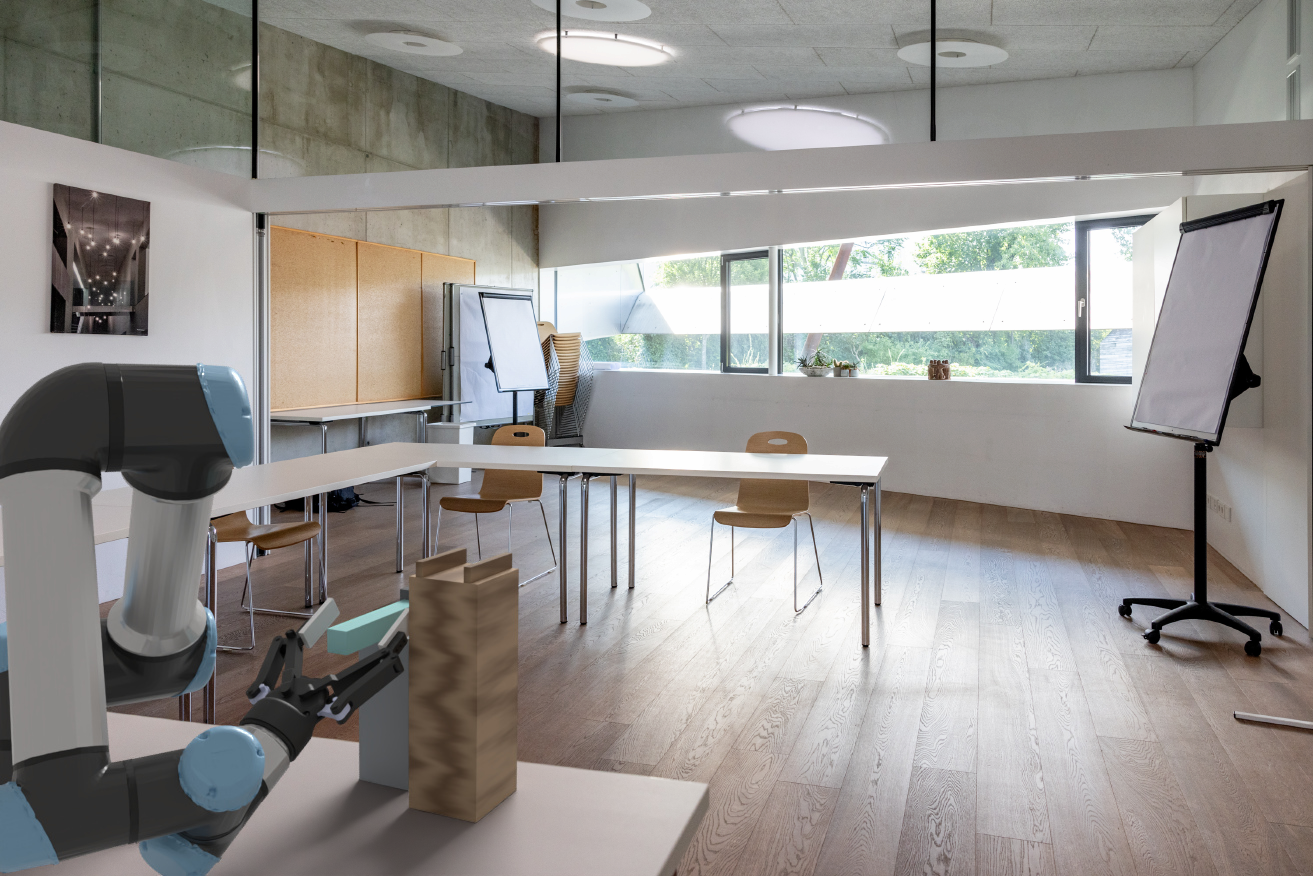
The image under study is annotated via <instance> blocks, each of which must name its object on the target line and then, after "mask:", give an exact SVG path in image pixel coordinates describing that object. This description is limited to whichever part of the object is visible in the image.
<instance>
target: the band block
mask: <svg viewBox="0 0 1313 876" xmlns="http://www.w3.org/2000/svg"><path fill="white" fill-rule="evenodd" d="M407 639H408V642H407V644H406V645H405V646H404V648H403V650H402V651H401V652H400V654H399V655H398V656H399V658H400V660H401V663H402V665H403V667H404V671H403V673H401V674H400V675H399V676H398V677H396V678H395V679H394V680H393V681H391V682H390V683H389V684H388V685H386V686H385V687H384V688H383V689H381V690H380V691H379V692H378V693H376V694H375V695H374V696H373V697H371V698H370V699H369V700H368V701H366V702H365V703H364V704H363V705H361V706H360V707H359V708H358V771H359V772H358V777H359V778H358V780H359V781H364V782H367V783H368V782H369V783H373V784H377V785H381V786H385V787H386V786H387V787H391V788H396V789H400V790H405V791H409V636H408V637H407ZM379 642H380V641H379ZM379 642H377V643H375V644H372V645H370V646H368V647H365V648H363V649H361V650H358V662H359V661H361V660H362V659H364V658H366V657H368V656H369V655H371V654H373V653H375V652H377V651H378V650H380V649H379V647H378V644H379ZM381 662H382V659H381V661H380V663H381Z"/></svg>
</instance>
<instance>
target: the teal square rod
mask: <svg viewBox="0 0 1313 876" xmlns="http://www.w3.org/2000/svg"><path fill="white" fill-rule="evenodd" d="M406 608H409V585H408V586H407V585H406V586H405V587H402V588H399V601H396V602H394V603H391V604H389V605H386V606H384V607H380V608H378V609H376V610H372V611H370V612H367V613H364V614H363V615H359V616H357V617H353V618H351V619H350V620H349V619H348V620H347V621H344V622H340V623H338V624H336V625H333V626H331V627H330V626H329V627H328V628H327V630H326V638H327V639H326V640H327V641H326V644H327V645H326V646H327V653H331V654H336V655H342V656H348V655H352V654H354V653H356V652H359V650H361V649H363V648H365V647H368V646H370V645H372V644H375V643H377V642H379V641H381V640H382V639H383V637H384V636H385V635H386V633H387V632H388V631H389V629H390V628H391V627H392V625H393V624H394V623H395V622H396V620H397V619H398V618H399V616H400V615H401V614H402V612H403V611H404V610H405V609H406Z"/></svg>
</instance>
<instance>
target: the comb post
mask: <svg viewBox="0 0 1313 876" xmlns="http://www.w3.org/2000/svg"><path fill="white" fill-rule="evenodd" d="M467 552H468V549H467V548H466V547H458V548H455V549H452V550H448V551H445V552H441V553H439V554H435V555H432V556H429V557H426V558H423V559H419V560H416V561H415V574H411V575H408V586H409V790H408V808H409V809H413V810H417V811H422V812H427V813H431V814H434V815H435V814H436V815H439V816H440V815H441V816H443V817H449V818H454V819H458V820H462V821H467V822H471V823H478V822H479V821H480V820H481V819H483V818H484V817H486V815H487V814H489V813H490V812H492V811H493V810H494V809H495V808H497V806H498V805H500V804H501V803H502V802H504V801H505V800H506V799H507V798H508V797H510V796H511V795H512V794H513V793H515V792H516V791H517V789H518V787H517V785H518V784H517V783H518V782H517V781H518V779H517V778H518V703H519V702H518V699H519V698H518V697H519V696H518V692H519V691H518V684H519V681H518V680H519V666H518V665H519V600H520V599H519V597H520V596H519V594H520V593H519V589H520V588H519V585H520V584H519V583H520V581H519V580H520V579H519V578H520V569H519V568H516V567H513V552H506V551H505V552H502V553H500V554H496V555H493V556H491V557H488V558H485V559H481V560H479V561H476V562H474V563H469V562H468V561H467V559H468V558H467V557H468V553H467Z"/></svg>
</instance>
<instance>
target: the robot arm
mask: <svg viewBox="0 0 1313 876" xmlns="http://www.w3.org/2000/svg"><path fill="white" fill-rule="evenodd" d="M252 415H253V414H252V409H251V404H250V399H249V395H248V390H247V387H246V384H245V381H244V379H243V377H242V375H241V374H240V372H239V371H237V370H236V369H235V368H233V367H230V366H226V365H214V364H213V365H212V364H204V363H202V362H197V363H196V364H193V365H192V364H159V363H157V364H156V363H155V364H153V363H111V362H110V363H108V362H107V363H106V362H105V363H103V362H100V361H99V362H97V361H95V362H93V361H90V362H80V363H76V364H71V365H67V366H63V367H61V368H58V369H57V370H54V371H52V372H50V373H49V374H47V375H45V376H44V377H42V378H40V379H38V380H37V381H36V382H35V383H33V385H31V386H30V387H29V388H28V389H26V390H25V391H24V393H22V395H20V397H18V399H17V400H16V401H15V402H14V404H13V405H12V406H11V407H10V409H9V410H8V412H7V414H6V415H5V416H4V418H3V419H2V422H1V423H0V506H1V523H2V524H1V527H2V528H1V529H2V548H3V550H2V551H3V568H4V569H3V571H4V572H3V574H4V591H5V592H4V594H5V596H4V597H5V616H6V617H5V618H6V621H3V622H1V623H0V873H2V874H11V873H13V872H14V873H15V872H20V871H24V870H30V869H35V868H39V867H44V866H48V865H53V866H56V865H59V864H60V863H61V862H64V861H68V860H72V859H76V858H80V857H84V856H87V855H92V854H95V853H99V852H103V851H106V850H110V849H113V848H118V847H123V846H125V845H131V844H138V843H139V844H138V850H139V853H140V855H141V857H142V859H143V861H145V863H146V864H147V865H148V866H149V867H150V868H151V869H153V871H155V872H156V873H158V874H159V875H161V876H207V875H208V874H209V873H210V871H211V870H212V869H213V867H214V866H215V865H216V864H218V863H220V861H221V859H222V857H223V855H224V854H225V852H226V851H227V850H228V848H229V847H230V845H231V844H232V843H233V842H234V840H235V839H236V838H237V836H238V835H239V834H240V832H241V831H242V829H244V827H245V826H246V825H247V823H248V822H249V820H250V819H251V818H252V817H253V815H254V813H255V812H256V811H257V809H258V807H259V806H260V805H261V804H262V803H263V802H264V801H265V799H266V798H267V797H268V795H269V794H270V792H272V790H273V789H274V788H275V786H276V785H277V783H278V782H279V781H280V780H281V779H282V777H283V776H284V774H285V773H286V772H287V771H288V769H289V768H290V765H291V763H292V762H294V761H295V760H296V759H297V758H298V756H299V755H300V754H301V753H302V751H304V749H305V747H306V746H307V745H308V743H309V742H311V739H312V738H313V737H312V736H313V733H314V730H315V727H316V725H317V724H319V722H321V721H322V720H324V719H326V718H330V719H334V720H335V722H336V724H337V725H339V726H343V725H344V724H346V723H347V722H348V721H349V719H350V718H351V716H353V714H354V712H355V711H356V710H359V707H360V706H361V705H363V704H364V703H365V702H366V701H368V700H369V699H370V698H371V697H373V696H374V695H375V694H376V693H378V692H379V691H380V690H381V689H383V688H384V687H385V686H386V685H388V684H389V683H390V682H391V681H393V680H394V679H395V678H396V677H398V676H399V675H400V674H401V673H403V671H404V667H403V665H402V663H401V660H400V658H399V656H398V655H399V654H400V652H401V651H402V650H403V648H404V646H405V645H406V644H407V642H408V639H407V637H408V636H409V608H406V609H405V610H404V611H403V612H402V614H401V615H400V616H399V618H398V619H397V620H396V622H395V623H394V624H393V625H392V627H391V628H390V629H389V631H388V632H387V633H386V635H385V636H384V637H383V639H382V640H381V641H380V642H379V644H378V647H379V649H380V650H378V651H377V652H375V653H373V654H371V655H369V656H368V657H366V658H364V659H362V660H361V661H359V660H358V661H357V662H355V663H353V664H352V665H350V666H348V667H347V668H345V669H342V670H340V671H339V672H337V673H336V674H332V673H331V674H327V675H326V676H324V677H321V678H320V677H309V676H307V675H303V663H304V661H303V660H304V646H305V648H306V649H312V648H313V647H314V645H316V643H317V642H318V640H319V639H320V638H321V637H322V636H323V635H324V634H325V632H327V629H328V628H330V626H331V625H332V624H333V623H334V621H336V619H337V618H338V617H339V615H340V614H341V612H340V610H339V608H338V605H337V604H336V603H337V602H336V601H335V599H334V598H333V597H327V599H326V600H325V601H324V603H323V604H322V605H321V606H320V607H319V608H318V609H317V611H315V612H314V614H313V615H312V616H311V617H310V618H307V619H306V620H305V621H304V622H303V623H302V625H301V626H300V627H299V628H298V629H297V630H296V631H295V629H293V628H291V629H287V630H286V632H284V635H285V637H283V636H282V635H280V634H279V635H277V636H274V638H273V639H272V640H271V644H270V646H269V648H268V650H267V653H266V655H265V657H264V659H263V662H262V664H261V666H260V669H259V671H258V673H257V675H256V678H255V680H254V681H253V683H252V684H251V685H250V686H249V687H248V688H247V690H246V691H245V695H246V697H247V698H248V701H249V702H250V703H251V706H252V707H251V708H250V709H249V710H248V711H247V713H246V714H245V715H244V716H243V717H242V718H241V720H240V721H239V724H238V725H237V726H235V725H219V726H214V727H213V726H212V727H210V728H209V729H206V730H204V731H203V732H201V733H199V734H198V735H197V736H195V737H194V738H192V740H191V741H190V742H189V743H188V744H187V745H186V746H185V747H184V748H180V749H174V750H169V751H165V752H161V753H155V754H150V755H145V756H139V757H135V758H134V757H133V758H129V759H124V760H123V759H122V760H118V761H113V762H112V760H111V754H110V753H111V752H110V743H109V742H110V741H109V728H108V714H107V713H108V712H107V711H108V710H107V708H110V707H115V706H117V707H118V706H124V705H129V704H135V703H141V702H149V701H155V700H162V699H168V698H171V699H172V698H177V697H180V696H182V695H186V694H189V693H194V692H197V691H200V690H201V689H203V688H204V687H205V686H206V685H207V684H208V682H209V681H210V680H211V678H212V676H213V672H214V671H215V670H214V669H215V666H216V662H217V661H216V660H217V653H216V651H217V648H218V632H217V625H216V621H215V620H216V619H215V617H214V614H213V612H212V611H211V609H210V608H208V607H206V606H204V605H203V603H202V601H200V599H198V597H199V592H200V584H201V578H202V572H203V566H204V560H205V555H206V554H205V553H206V546H207V541H208V534H209V529H210V523H211V517H212V509H213V505H214V499H215V498H214V497H215V495H217V494H219V493H220V492H221V491H222V490H223V489H224V488H226V487H227V486H228V484H229V482H230V480H231V478H232V474H233V469H234V468H236V469H239V470H240V469H242V468H244V467H247V466H249V465H251V464H252V462H253V461H254V457H255V434H254V433H255V432H254V423H253V416H252ZM116 472H117V473H121V476H122V478H123V480H124V481H125V483H126V484H127V485H128V486H129V487H130V488H131V489H132V495H131V496H132V497H131V508H130V518H129V528H128V537H127V538H128V539H127V540H128V541H127V550H126V558H125V559H126V560H125V568H124V569H125V571H124V578H123V579H124V580H123V591H122V596H121V597H120V598H118V599H117V600H116V602H115V603H113V605H112V606H111V607H110V610H109V612H108V614H107V617H101V614H100V613H101V611H100V601H99V600H100V599H99V587H98V584H99V583H98V571H97V559H96V557H97V556H96V544H95V543H96V541H95V529H94V528H95V527H94V515H93V513H94V512H93V501H92V499H94V498H95V497H96V496H97V495H98V494H99V493H100V492H101V491H102V488H103V481H102V480H103V477H102V473H116ZM381 659H382V662H381V663H380V661H381ZM283 668H284V670H283ZM281 672H282V673H281ZM280 674H281V683H280V685H279V686H278V687H276V685H277V683H278V680H279V677H280ZM329 686H330V687H331V689H332V691H333V693H332V694H330V690H329V688H328V687H329Z"/></svg>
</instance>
